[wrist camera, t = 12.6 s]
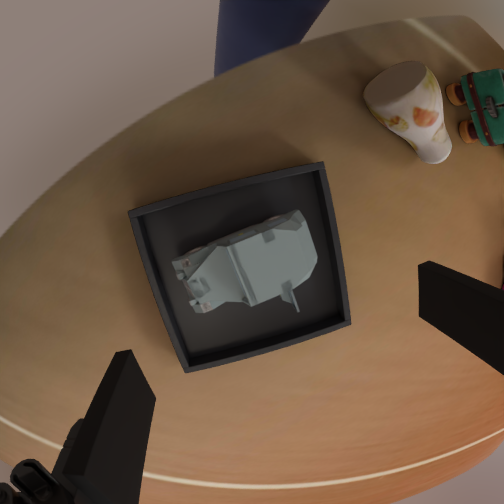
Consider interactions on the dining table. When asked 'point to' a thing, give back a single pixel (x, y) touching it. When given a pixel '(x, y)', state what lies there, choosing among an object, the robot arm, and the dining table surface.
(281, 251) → the toy car
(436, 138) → the mug
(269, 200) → the tray
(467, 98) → the binoculars
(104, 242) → the dining table surface
